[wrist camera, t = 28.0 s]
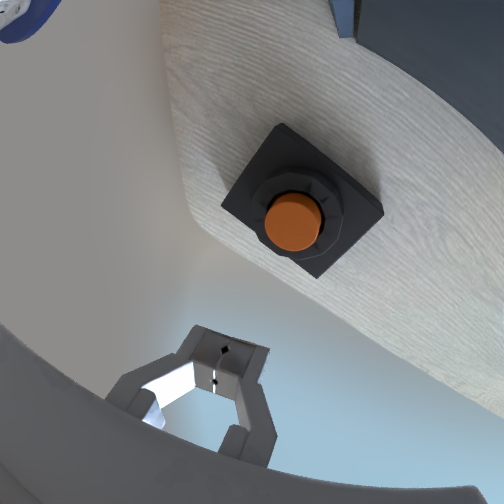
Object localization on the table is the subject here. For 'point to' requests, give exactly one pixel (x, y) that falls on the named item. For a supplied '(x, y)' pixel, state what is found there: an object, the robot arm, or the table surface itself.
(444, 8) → the cupboard
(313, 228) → the button
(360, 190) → the button box
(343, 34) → the door
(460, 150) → the table surface
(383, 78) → the table surface
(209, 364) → the robot arm
